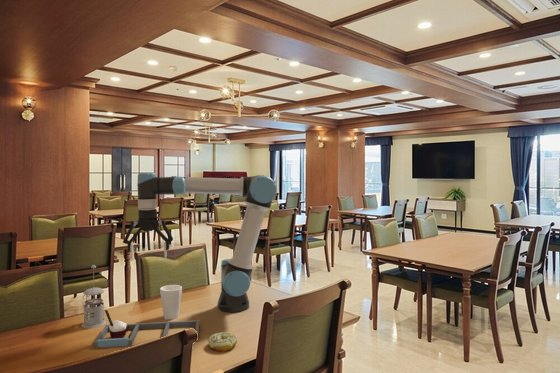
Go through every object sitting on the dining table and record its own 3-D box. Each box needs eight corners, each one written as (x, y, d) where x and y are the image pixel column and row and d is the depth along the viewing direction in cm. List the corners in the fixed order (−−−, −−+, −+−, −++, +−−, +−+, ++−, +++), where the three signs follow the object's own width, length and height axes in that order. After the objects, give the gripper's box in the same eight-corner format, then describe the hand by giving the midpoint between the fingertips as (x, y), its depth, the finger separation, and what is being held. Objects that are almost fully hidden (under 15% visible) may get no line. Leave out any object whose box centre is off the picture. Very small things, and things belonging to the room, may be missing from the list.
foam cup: (176, 321, 172) (176, 291, 172) (156, 319, 174) (156, 290, 174) (185, 313, 182) (185, 285, 181) (166, 312, 183) (166, 284, 183)
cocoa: (128, 333, 160) (129, 303, 160) (130, 339, 154) (131, 307, 155) (102, 337, 155) (103, 306, 155) (104, 343, 150) (105, 310, 150)
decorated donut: (207, 353, 143) (207, 342, 143) (210, 340, 154) (210, 330, 154) (236, 352, 144) (236, 342, 144) (237, 339, 155) (237, 330, 154)
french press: (90, 330, 162) (89, 269, 161) (73, 324, 168) (73, 265, 168) (111, 322, 171) (111, 264, 170) (95, 317, 177) (94, 261, 176)
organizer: (199, 324, 169) (199, 319, 169) (197, 341, 152) (197, 334, 152) (106, 329, 163) (106, 323, 162) (94, 347, 146) (94, 341, 146)
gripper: (178, 207, 176) (179, 255, 176) (118, 209, 171) (119, 258, 172) (177, 208, 168) (178, 258, 169) (114, 210, 163) (116, 262, 164)
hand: (149, 258), depth 170 cm, fingers open, 13 cm apart
